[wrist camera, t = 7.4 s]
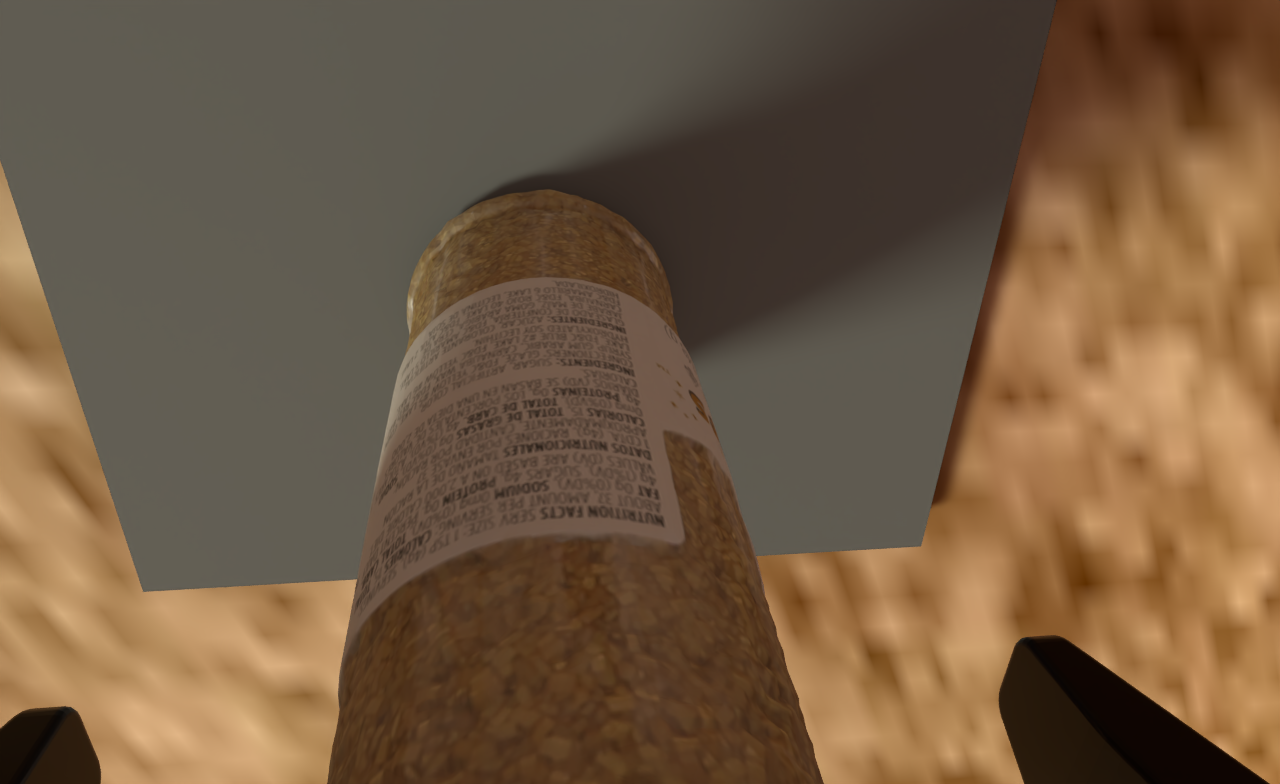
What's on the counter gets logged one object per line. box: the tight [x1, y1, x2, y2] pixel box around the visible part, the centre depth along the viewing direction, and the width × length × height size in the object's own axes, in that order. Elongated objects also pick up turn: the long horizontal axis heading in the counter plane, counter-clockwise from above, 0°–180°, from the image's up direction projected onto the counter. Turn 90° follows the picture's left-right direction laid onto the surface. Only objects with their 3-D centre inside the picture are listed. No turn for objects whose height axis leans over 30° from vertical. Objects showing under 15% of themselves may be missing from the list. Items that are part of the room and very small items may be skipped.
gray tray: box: [0, 0, 1057, 592], centre depth 17 cm, size 16×12×1 cm
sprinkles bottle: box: [327, 189, 824, 784], centre depth 11 cm, size 5×5×14 cm
